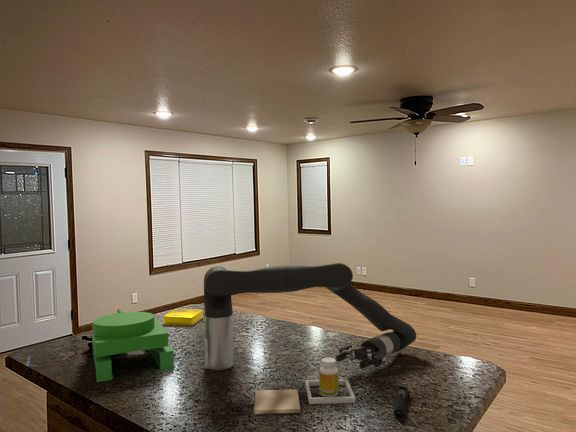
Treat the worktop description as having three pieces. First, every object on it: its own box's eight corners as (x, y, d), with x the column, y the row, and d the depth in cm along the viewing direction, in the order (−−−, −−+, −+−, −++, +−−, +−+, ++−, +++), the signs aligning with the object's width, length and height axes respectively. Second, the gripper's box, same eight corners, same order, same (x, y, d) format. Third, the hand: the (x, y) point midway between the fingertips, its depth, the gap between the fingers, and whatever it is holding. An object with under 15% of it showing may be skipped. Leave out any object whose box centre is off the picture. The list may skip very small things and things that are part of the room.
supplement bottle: (337, 398, 121) (337, 363, 121) (318, 396, 122) (318, 362, 122) (339, 390, 126) (339, 357, 126) (320, 388, 127) (320, 356, 127)
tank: (157, 342, 176) (156, 302, 176) (175, 369, 144) (174, 320, 144) (91, 351, 165) (90, 309, 165) (95, 383, 134) (94, 330, 134)
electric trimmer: (390, 419, 110) (390, 407, 109) (396, 393, 124) (396, 382, 124) (405, 422, 108) (405, 409, 108) (409, 395, 123) (409, 384, 123)
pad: (253, 413, 112) (253, 410, 112) (255, 393, 124) (255, 390, 124) (300, 412, 113) (300, 408, 113) (297, 392, 125) (297, 389, 125)
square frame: (309, 404, 118) (309, 398, 117) (305, 384, 130) (305, 380, 130) (355, 402, 118) (355, 397, 118) (347, 383, 131) (347, 379, 131)
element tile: (161, 325, 199) (161, 315, 199) (175, 317, 214) (175, 307, 214) (192, 326, 196) (192, 316, 196) (204, 318, 211) (204, 308, 211)
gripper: (358, 333, 148) (329, 344, 136) (396, 341, 138) (368, 354, 126) (358, 355, 148) (329, 368, 136) (396, 365, 138) (369, 380, 126)
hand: (348, 361), depth 131 cm, fingers open, 8 cm apart
